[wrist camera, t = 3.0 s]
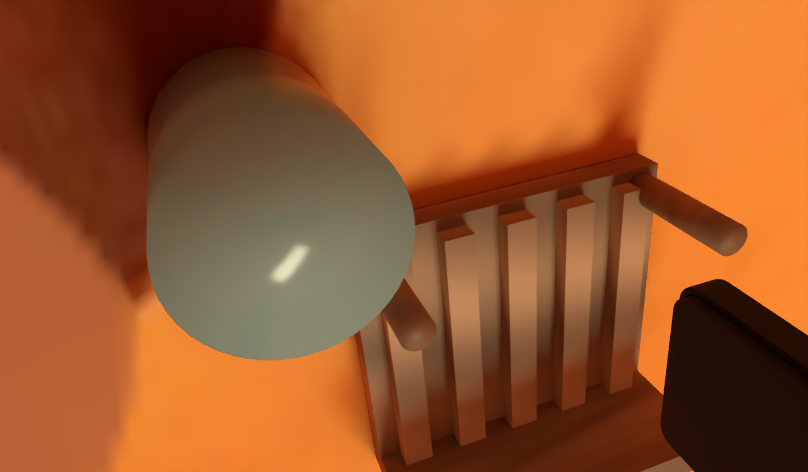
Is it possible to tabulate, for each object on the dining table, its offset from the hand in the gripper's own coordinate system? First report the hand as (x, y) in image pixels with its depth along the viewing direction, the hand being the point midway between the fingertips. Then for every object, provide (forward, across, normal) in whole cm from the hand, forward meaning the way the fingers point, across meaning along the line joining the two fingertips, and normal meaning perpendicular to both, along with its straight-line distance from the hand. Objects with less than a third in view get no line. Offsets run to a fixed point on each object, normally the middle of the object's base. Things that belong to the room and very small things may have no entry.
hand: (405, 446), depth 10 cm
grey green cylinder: (+14, +1, 0) cm, 14 cm away
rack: (+14, -8, +10) cm, 19 cm away
